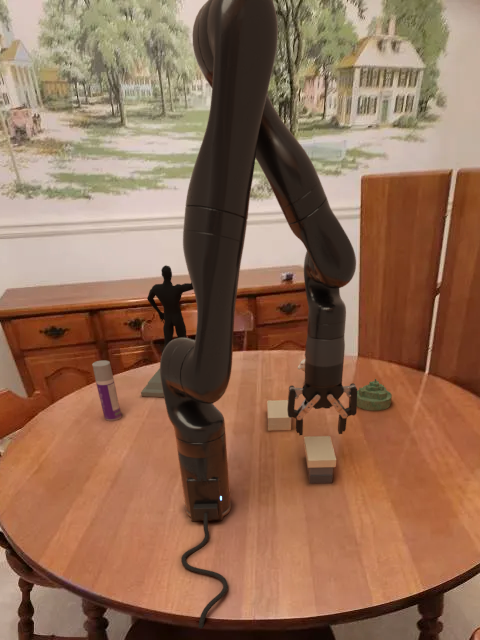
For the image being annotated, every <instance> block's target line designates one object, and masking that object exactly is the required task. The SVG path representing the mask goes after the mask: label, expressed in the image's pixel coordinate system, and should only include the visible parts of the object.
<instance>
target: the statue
mask: <svg viewBox="0 0 480 640" xmlns="http://www.w3.org/2000/svg"><path fill="white" fill-rule="evenodd" d="M160 271H161V277H162V278H163V281H162V283H155V284H153V286H151V288H150V289H149V292H148V295H147V297H146V298H147V299H146V300H147V301H148V303H149V304H150V305H151V307H152V308H153V309H154V310H155V311H156V312H157V315H158V316H159V320H160V323H162V324H163V327H162V331H163V332H162V333H163V338H164V345H163V348H162V350H161V354H160V355H161V356H162V353H163V351H164V349H165V347H166V346H167V344H168V343H169V342H171V341H172V340H174V334H175V335H176V338H187V326H186V323H185V320H184V319H185V318H184V316H183V313H182V309H181V306H180V302H181V299H182V295H183V293H187V292H190V291H194V289H193V286H192V283H191V282H186V283H182V284H180V283H176V284H175V285H173V282H172V277H173V272H172V268H171V266H170V265H167V264H165V265H164V266H162V268H161V270H160ZM155 297H156V298H157V299H158V301H159V302H160V304H161V306H162V307H163V311H161V309H160V308H159V307H158V305H157V303H156V300H155ZM161 356H160V357H161ZM140 394H141V397H145V398H146V397H147V398H164V394H163V389H162V384H161V377H160V367H159V368H158V370H157V371H156V372H155V373H154V374H153V375H152V377H150V379H149V380H148V382H147V384H146V385H145V387H144V388H143V389H142V390H141V391H140Z"/></svg>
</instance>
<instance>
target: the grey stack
mask: <svg viewBox="0 0 480 640" xmlns="http://www.w3.org/2000/svg"><path fill="white" fill-rule="evenodd" d="M304 456H305V457H304V459H305V465H306V471H307V472H306V473H307V477H308V484H310V485H311V484H332V483H333V478H334V477H333V476H334V467H319V468H308V466H307V460H306V454H305V455H304Z"/></svg>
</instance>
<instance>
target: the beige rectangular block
mask: <svg viewBox="0 0 480 640" xmlns="http://www.w3.org/2000/svg"><path fill="white" fill-rule="evenodd" d="M303 445H304V454H305V455H306V459H305V461H306V460H307V466H308V468H319V467H333V468H336V467H337V456H336V453H335V449H334V446H333V441H332V437H331V435H311V436H309V435H308V436H303ZM307 466H306V467H307Z"/></svg>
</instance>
